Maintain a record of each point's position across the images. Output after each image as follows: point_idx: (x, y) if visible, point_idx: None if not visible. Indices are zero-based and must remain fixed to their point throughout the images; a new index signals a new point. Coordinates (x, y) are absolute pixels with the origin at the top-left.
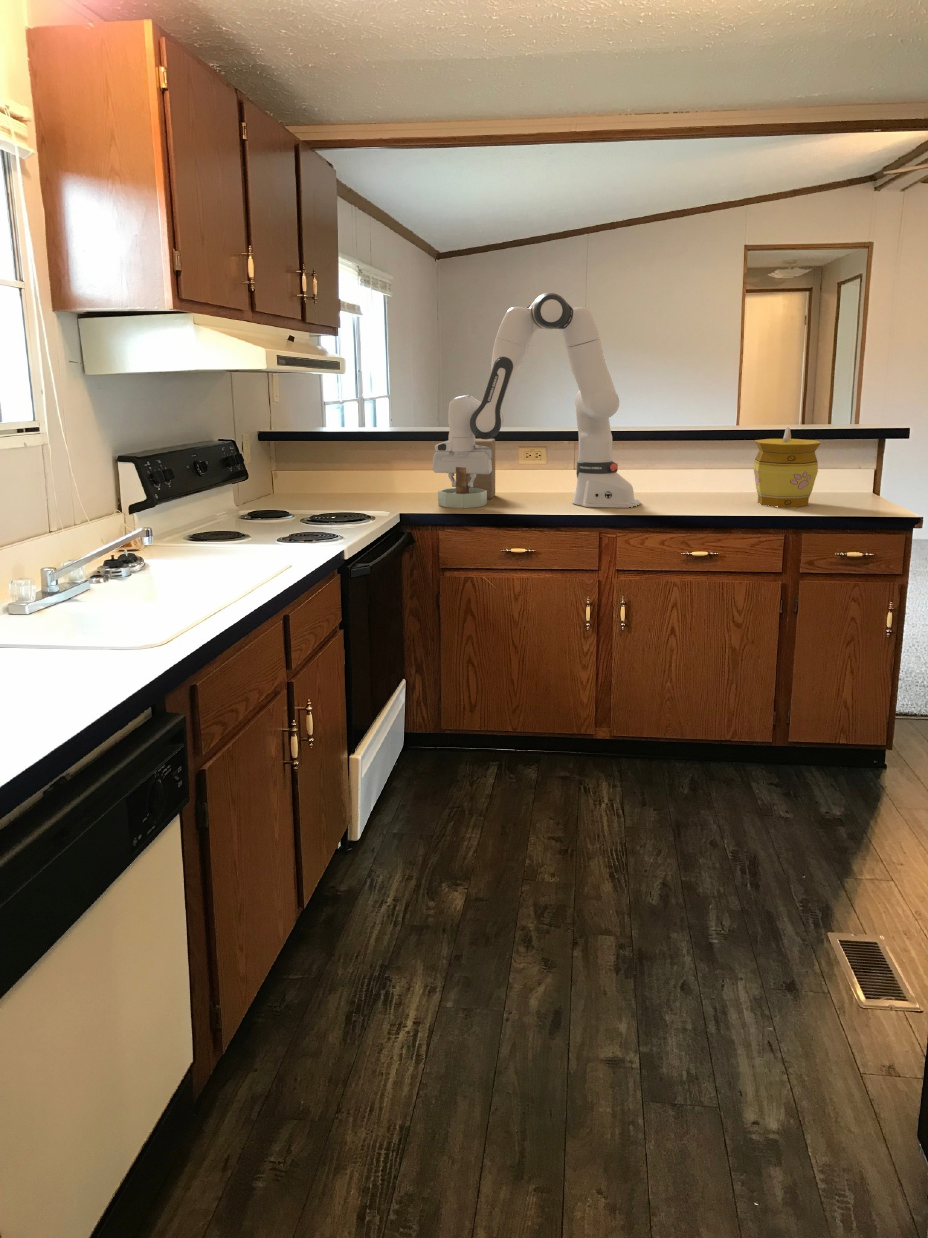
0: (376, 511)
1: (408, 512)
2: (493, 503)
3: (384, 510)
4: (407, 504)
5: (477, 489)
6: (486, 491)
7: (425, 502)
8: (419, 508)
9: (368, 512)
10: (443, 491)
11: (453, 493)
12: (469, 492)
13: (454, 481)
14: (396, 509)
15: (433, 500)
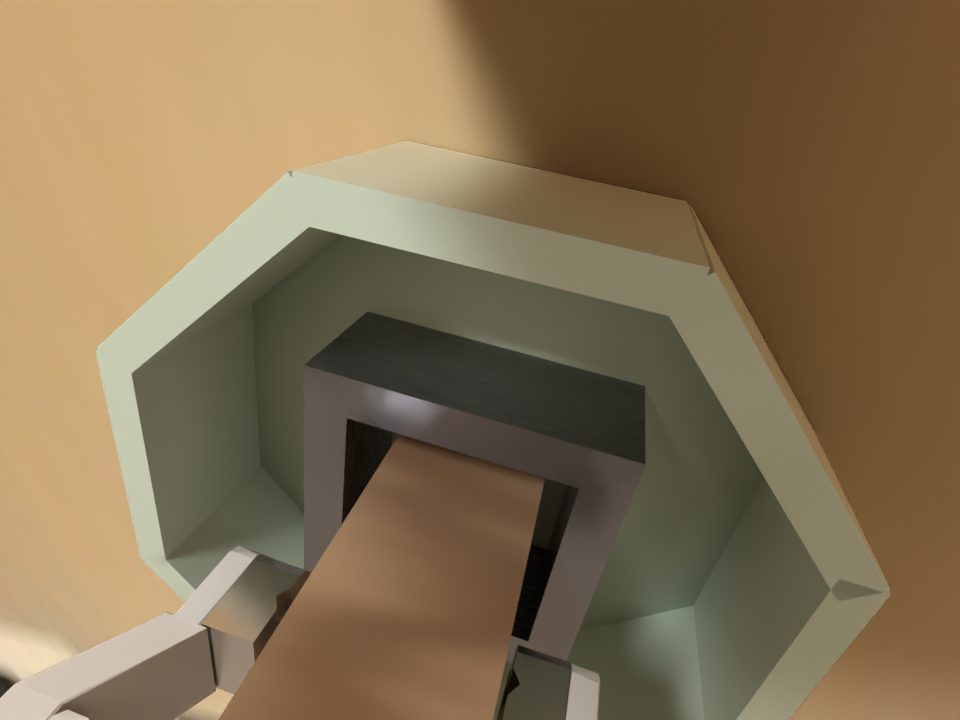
0: (33, 645)
1: (207, 706)
2: (940, 393)
3: (47, 625)
4: (12, 418)
5: (684, 336)
6: (875, 587)
7: (73, 306)
8: None
9: (20, 662)
10: (167, 463)
11: None
12: (531, 432)
13: (223, 671)
14: (85, 607)
15: (64, 145)
